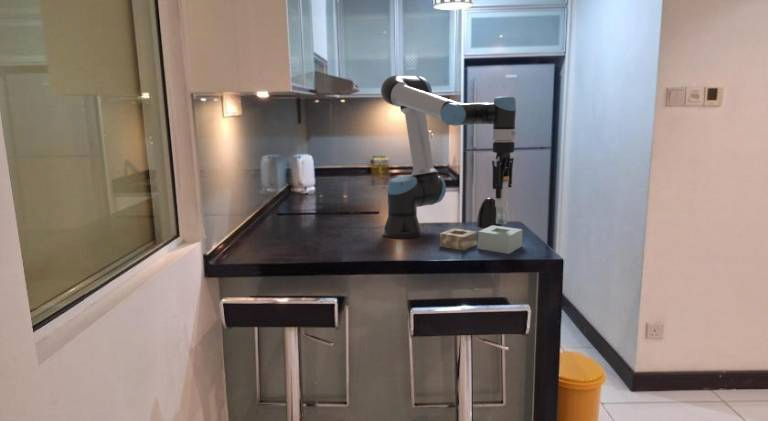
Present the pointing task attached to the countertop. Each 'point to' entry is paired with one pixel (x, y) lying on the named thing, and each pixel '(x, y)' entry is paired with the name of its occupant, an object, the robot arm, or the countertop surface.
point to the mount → (458, 239)
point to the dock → (500, 239)
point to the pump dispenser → (487, 214)
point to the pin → (502, 212)
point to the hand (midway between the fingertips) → (501, 205)
